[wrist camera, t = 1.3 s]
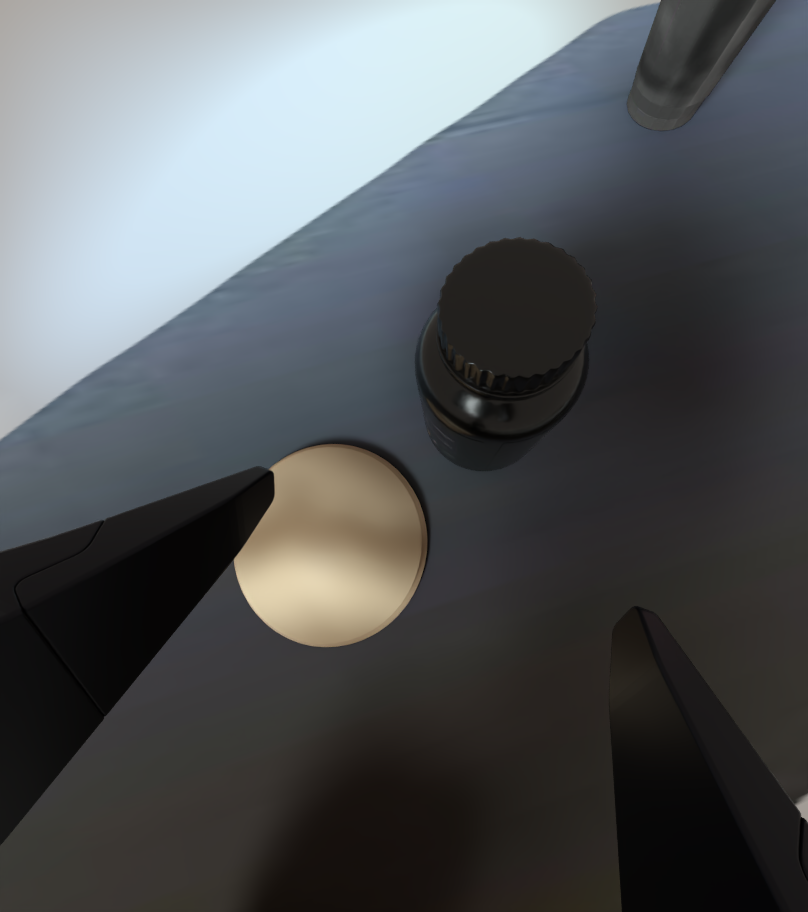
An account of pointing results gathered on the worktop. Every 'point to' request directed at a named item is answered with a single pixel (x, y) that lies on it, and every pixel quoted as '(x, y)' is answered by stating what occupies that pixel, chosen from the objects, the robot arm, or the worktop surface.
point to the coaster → (334, 547)
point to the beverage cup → (689, 57)
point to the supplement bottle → (504, 351)
